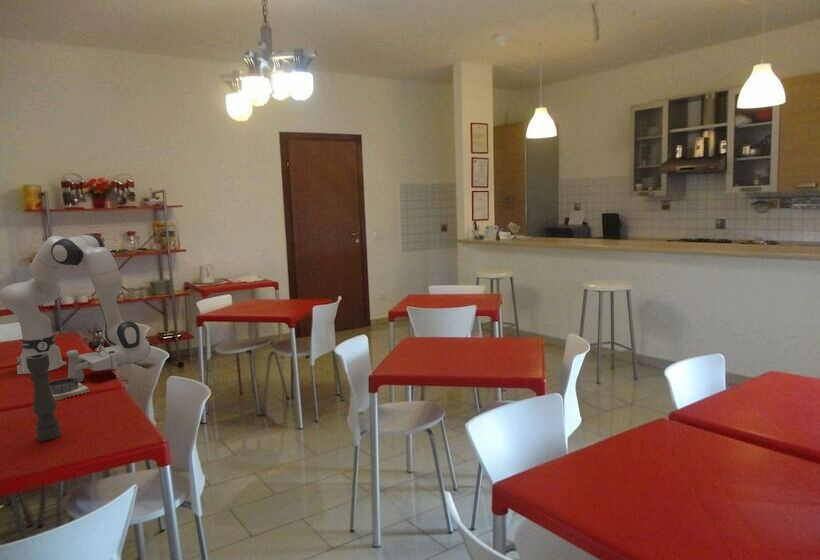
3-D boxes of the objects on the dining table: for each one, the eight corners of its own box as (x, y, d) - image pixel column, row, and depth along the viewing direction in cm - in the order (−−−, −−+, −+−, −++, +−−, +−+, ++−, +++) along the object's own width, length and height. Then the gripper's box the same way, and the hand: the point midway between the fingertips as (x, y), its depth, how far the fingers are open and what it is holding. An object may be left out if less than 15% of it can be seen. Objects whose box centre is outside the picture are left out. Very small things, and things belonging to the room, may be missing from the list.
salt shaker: (88, 380, 239) (83, 348, 238) (79, 384, 234) (74, 352, 232) (74, 380, 240) (70, 349, 238) (65, 385, 234) (60, 352, 233)
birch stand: (37, 395, 223) (36, 391, 223) (78, 385, 233) (77, 381, 233) (47, 402, 213) (47, 398, 213) (89, 392, 223) (89, 388, 223)
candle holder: (43, 433, 183) (31, 354, 179) (64, 431, 183) (53, 352, 180) (33, 441, 177) (20, 359, 173) (54, 439, 177) (42, 358, 174)
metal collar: (44, 391, 223) (42, 383, 222) (73, 383, 230) (72, 376, 229) (51, 396, 216) (50, 388, 215) (81, 388, 223) (80, 381, 222)
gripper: (99, 346, 252) (62, 354, 242) (116, 353, 237) (78, 362, 228) (101, 361, 253) (65, 369, 243) (118, 369, 238) (81, 378, 229)
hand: (71, 365), depth 235 cm, fingers open, 5 cm apart
